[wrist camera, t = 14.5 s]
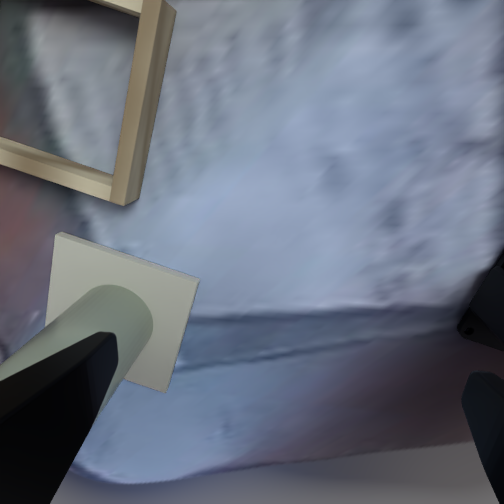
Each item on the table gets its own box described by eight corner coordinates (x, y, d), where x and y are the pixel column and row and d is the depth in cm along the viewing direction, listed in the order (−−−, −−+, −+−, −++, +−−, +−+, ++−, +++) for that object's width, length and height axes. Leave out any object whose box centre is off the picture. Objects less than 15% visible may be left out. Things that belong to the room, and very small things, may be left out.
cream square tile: (200, 279, 22) (197, 283, 22) (168, 387, 25) (165, 393, 25) (61, 231, 22) (55, 234, 22) (47, 346, 25) (42, 351, 25)
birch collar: (176, 11, 17) (161, -2, 15) (139, 198, 21) (123, 206, 19) (-14, -55, 17) (-52, -76, 15) (-19, 144, 21) (-51, 146, 19)
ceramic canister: (160, 300, 22) (-30, 556, 9) (145, 361, 24) (-32, 648, 11) (84, 273, 22) (-214, 494, 9) (74, 337, 24) (-186, 596, 11)
